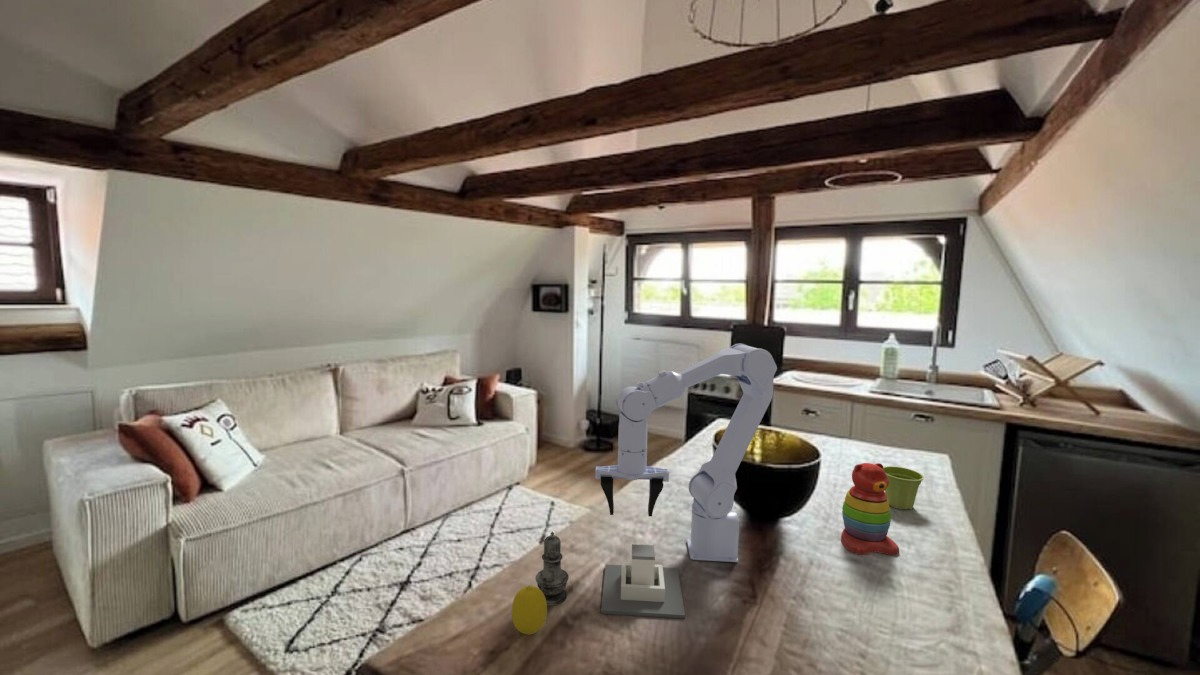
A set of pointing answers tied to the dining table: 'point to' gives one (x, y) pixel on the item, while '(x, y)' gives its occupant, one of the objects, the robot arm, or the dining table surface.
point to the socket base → (642, 593)
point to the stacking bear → (868, 512)
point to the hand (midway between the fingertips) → (630, 513)
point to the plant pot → (902, 486)
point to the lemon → (529, 610)
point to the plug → (642, 565)
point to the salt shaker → (552, 572)
